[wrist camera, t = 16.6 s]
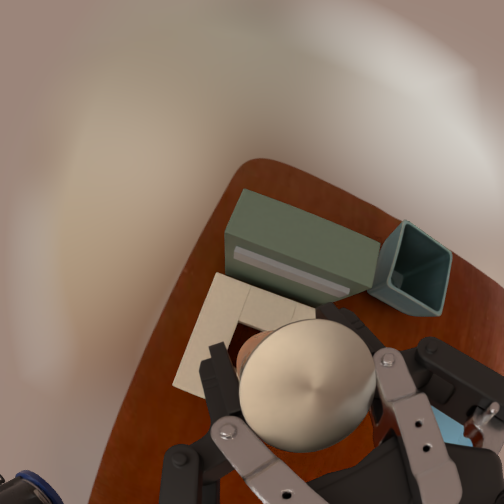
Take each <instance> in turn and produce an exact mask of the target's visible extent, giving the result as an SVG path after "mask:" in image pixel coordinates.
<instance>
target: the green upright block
mask: <svg viewBox="0 0 504 504" xmlns="http://www.w3.org/2000/svg"><path fill="white" fill-rule="evenodd" d="M379 249H380V243H379V242H377V241H375V240H373V239H370V238H368V237H366V236H363V235H361V234H359V233H357V232H354V231H352V230H350V229H347V228H345V227H343V226H340V225H338V224H335V223H333V222H331V221H328V220H326V219H323V218H321V217H318V216H316V215H313V214H311V213H308V212H306V211H303V210H301V209H298V208H296V207H293V206H290V205H288V204H285V203H283V202H280V201H277V200H275V199H272V198H269V197H267V196H264V195H261V194H258V193H256V192H253V191H250V190H247V189H243V191H242V194H241V196H240V198H239V200H238V203H237V205H236V207H235V209H234V211H233V214H232V216H231V218H230V221H229V223H228V225H227V227H226V230H225V274H226V275H228V276H231V277H234V278H236V279H239V280H242V281H244V282H247V283H250V284H252V285H255V286H258V287H260V288H263V289H266V290H268V291H271V292H274V293H276V294H279V295H282V296H285V297H287V298H290V299H293V300H296V301H298V302H301V303H304V304H307V305H310V306H313V307H315V308H316V307H318V306H321V305H323V304H326V303H328V302H335V301H338V300H341V299H344V298H346V297H349V296H352V295H355V294H357V293H360V292H363V291H366V290H368V289H371V288H372V285H373V280H374V275H375V270H376V265H377V260H378V255H379Z"/></svg>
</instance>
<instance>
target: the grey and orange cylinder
mask: <svg viewBox="0 0 504 504" xmlns="http://www.w3.org/2000/svg"><path fill="white" fill-rule="evenodd" d="M236 366H237V372H238V376H239V380H240V381H239V402H240V407H241V410H242V414H243V416H244V418H245V421H246V422H247V424H248V426H249V427H250V429H251V430H252V431H253V432H254V433H255V434H256V435H257V436H258V437H259V438H260V439H261V440H263V441H264V442H266V443H267V444H269V445H271V446H273V447H275V448H277V449H280V450H284V451H289V452H297V453H305V452H313V451H318V450H322V449H325V448H327V447H330V446H332V445H334V444H336V443H338V442H340V441H341V440H343V439H344V438H346V437H347V436H348V435H349V434H351V433H352V432H353V431H354V430H355V429H356V428H357V427H358V426H359V424H360V423H361V422H362V420H363V419H364V418H365V416H366V414H367V412H368V411H369V409H370V406H371V404H372V401H373V398H374V395H375V389H376V376H375V364H374V360H373V357H372V355H371V353H370V351H369V349H368V347H367V345H366V344H365V343H364V341H363V340H362V339H361V338H360V337H359V336H358V335H357V334H356V333H355V332H354V331H352V330H351V329H349V328H348V327H346V326H344V325H342V324H340V323H337V322H334V321H330V320H325V319H305V320H299V321H295V322H292V323H289V324H286V325H284V326H281V327H279V328H278V329H276V330H271V331H264V332H260V333H258V334H256V335H254V336H252V337H251V338H249V339H248V340H247V341H246V342H245V343H244V344H243V346H242V347H241V349H240V351H239V353H238V357H237V365H236Z"/></svg>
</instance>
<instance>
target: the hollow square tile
mask: <svg viewBox="0 0 504 504" xmlns="http://www.w3.org/2000/svg"><path fill="white" fill-rule="evenodd" d="M305 319H316V317H315V308H312V307H310V306H307V305H304V304H301V303H298V302H296V301H293V300H290V299H287V298H284V297H282V296H279V295H276V294H274V293H271V292H268V291H265V290H263V289H260V288H257V287H255V286H251V285H249V284H247V283H244V282H241V281H239V280H236V279H233V278H231V277H228V276H226V275H223V274H220V273H218V272H217V273H216V275H215V277H214V280H213V282H212V285H211V287H210V290H209V292H208V295H207V297H206V300H205V302H204V305H203V307H202V310H201V312H200V315H199V317H198V320H197V322H196V325H195V327H194V330H193V332H192V335H191V338H190V340H189V343H188V345H187V348H186V351H185V353H184V356H183V358H182V361H181V364H180V366H179V369H178V372H177V374H176V377H175V380H174V382H173V386H175V387H177V388H179V389H182V390H184V391H187V392H189V393H192V394H194V395H197V396H199V397H202V398H204V399H205V395H204V390H203V387H202V382H201V379H200V375H199V367H200V363H201V361H202V360H206V359H209V358H211V355H210V351H209V347H208V346H211V345H214V344H217V343H220V342H223V341H224V344H225V346H226V349H227V350H228V347H229V344H230V342H231V339H232V337H233V334H234V331H235V329H236V326H237V323H241V324H243V325H246V326H249V327H252V328H254V329H257V330H260V331H263V332H264V331H271V330H276V329H278V328H279V327H281V326H284V325H286V324H289V323H292V322H295V321H299V320H305ZM234 369H235V372H236V375H237V377H238V380H239V376H238V372H237V368H235V367H234ZM239 381H240V380H239Z"/></svg>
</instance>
